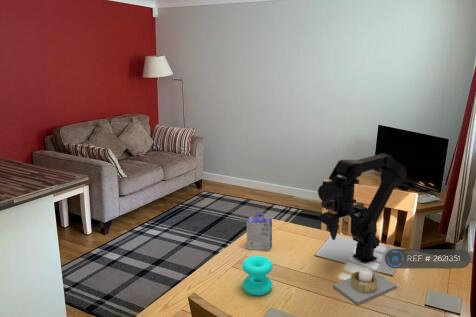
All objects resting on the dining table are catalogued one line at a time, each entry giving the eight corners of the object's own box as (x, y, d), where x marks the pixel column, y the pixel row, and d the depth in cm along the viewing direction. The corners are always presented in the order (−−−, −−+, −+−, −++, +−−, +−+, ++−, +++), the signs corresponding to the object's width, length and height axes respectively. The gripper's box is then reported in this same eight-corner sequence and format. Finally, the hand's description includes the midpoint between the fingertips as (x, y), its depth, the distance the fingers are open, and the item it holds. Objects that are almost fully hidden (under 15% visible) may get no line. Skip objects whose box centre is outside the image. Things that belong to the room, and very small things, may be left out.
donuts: (260, 251, 132) (278, 263, 124) (260, 276, 134) (278, 290, 126) (236, 259, 127) (253, 273, 119) (237, 285, 129) (253, 301, 121)
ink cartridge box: (272, 245, 157) (272, 212, 153) (270, 251, 152) (271, 217, 148) (248, 243, 159) (248, 210, 155) (246, 249, 154) (246, 216, 150)
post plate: (370, 272, 136) (372, 257, 134) (396, 288, 126) (398, 271, 125) (332, 287, 127) (333, 271, 126) (357, 305, 118) (358, 288, 117)
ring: (363, 276, 131) (364, 269, 131) (381, 288, 124) (382, 280, 124) (345, 283, 128) (346, 275, 127) (363, 295, 121) (364, 287, 120)
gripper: (348, 185, 144) (345, 223, 148) (309, 194, 136) (308, 234, 140) (371, 193, 135) (368, 234, 139) (331, 203, 126) (329, 246, 130)
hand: (343, 236), depth 137 cm, fingers open, 9 cm apart
